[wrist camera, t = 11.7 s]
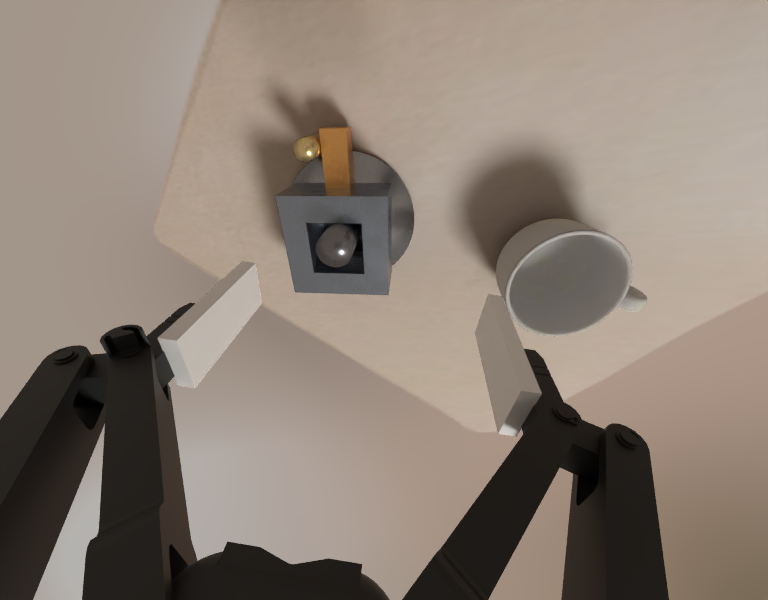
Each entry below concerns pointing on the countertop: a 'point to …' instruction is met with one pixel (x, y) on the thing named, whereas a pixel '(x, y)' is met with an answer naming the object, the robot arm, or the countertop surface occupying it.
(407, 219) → the rod on disc base
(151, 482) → the robot arm
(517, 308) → the teacup
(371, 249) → the grey hollow block
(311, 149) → the dowel pin
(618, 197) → the countertop surface
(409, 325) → the countertop surface
